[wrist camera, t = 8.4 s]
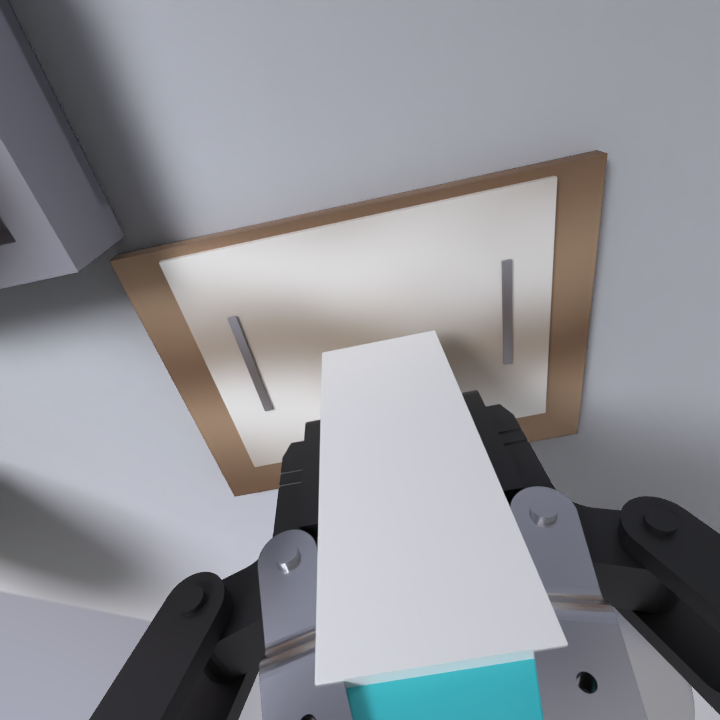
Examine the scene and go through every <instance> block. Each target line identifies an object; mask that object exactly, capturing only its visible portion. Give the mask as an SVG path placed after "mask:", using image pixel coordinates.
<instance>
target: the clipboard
mask: <svg viewBox="0 0 720 720" xmlns="http://www.w3.org/2000/svg"><path fill="white" fill-rule="evenodd" d="M606 162H607V153H604V152H601V151H597V150H596V151H592V152H587V153H583V154H578V155H573V156H569V157H564V158H560V159H555V160H550V161H546V162H541V163H537V164H532V165H527V166H523V167H518V168H514V169H509V170H504V171H500V172H495V173H491V174H486V175H482V176H477V177H472V178H468V179H463V180H459V181H454V182H449V183H445V184H440V185H436V186H431V187H426V188H422V189H417V190H413V191H408V192H403V193H399V194H394V195H390V196H385V197H380V198H376V199H371V200H367V201H362V202H357V203H353V204H348V205H344V206H339V207H334V208H330V209H325V210H321V211H316V212H312V213H307V214H302V215H298V216H293V217H289V218H284V219H279V220H275V221H270V222H266V223H261V224H256V225H252V226H247V227H243V228H238V229H233V230H229V231H224V232H220V233H215V234H210V235H206V236H201V237H197V238H192V239H187V240H183V241H178V242H174V243H169V244H164V245H160V246H155V247H151V248H146V249H142V250H137V251H132V252H128V253H123V254H119V255H116V256H115V257H114V258H113V259H112V260H111V261H109V262H110V263H111V265H112V267H113V269H114V271H115V273H116V275H117V277H118V278H119V280H120V282H121V284H122V286H123V288H124V290H125V292H126V293H127V295H128V297H129V299H130V301H131V303H132V305H133V307H134V308H135V310H136V312H137V314H138V316H139V318H140V320H141V322H142V323H143V325H144V327H145V329H146V331H147V333H148V335H149V337H150V339H151V340H152V342H153V344H154V346H155V348H156V350H157V352H158V354H159V355H160V357H161V359H162V361H163V363H164V365H165V367H166V369H167V370H168V372H169V374H170V376H171V378H172V380H173V382H174V384H175V385H176V387H177V389H178V391H179V393H180V395H181V397H182V399H183V400H184V402H185V404H186V406H187V408H188V410H189V412H190V414H191V415H192V417H193V419H194V421H195V423H196V425H197V427H198V429H199V430H200V432H201V434H202V436H203V438H204V440H205V442H206V444H207V445H208V447H209V449H210V451H211V453H212V455H213V457H214V459H215V460H216V462H217V464H218V466H219V468H220V470H221V472H222V474H223V475H224V477H225V479H226V481H227V483H228V485H229V487H230V489H231V490H232V492H233V494H234V496H241V495H246V494H251V493H257V492H262V491H268V490H273V489H279V488H280V485H279V483H280V475H281V466H282V458H283V456H284V454H285V452H286V451H287V449H288V447H289V446H290V444H291V443H294V442H299V441H304V434H305V424H306V422H310V421H315V420H320V419H321V375H322V353H323V352H328V351H333V350H338V349H343V348H348V347H353V346H358V345H363V344H368V343H373V342H378V341H383V340H388V339H393V338H398V337H403V336H408V335H413V334H418V333H423V332H428V331H433V330H435V332H436V334H437V337H438V339H439V341H440V344H441V346H442V348H443V351H444V353H445V355H446V358H447V360H448V363H449V365H450V367H451V370H452V372H453V374H454V377H455V379H456V381H457V384H458V386H459V388H460V391H461V393H463V392H468V391H473V390H477V391H478V392H479V394H480V396H481V398H482V400H483V402H484V404H485V406H491V405H496V404H500V405H502V406H503V407H504V408H506V409H507V410H508V411H510V412H511V413H512V414H514V416H515V418H516V420H517V422H518V423H519V425H520V427H521V430H522V431H523V432H524V434H525V436H526V438H527V441H528V442H534V441H539V440H545V439H550V438H555V437H561V436H566V435H572V434H577V433H578V425H579V415H580V406H581V397H582V387H583V378H584V368H585V359H586V350H587V340H588V331H589V322H590V312H591V303H592V294H593V284H594V275H595V265H596V256H597V247H598V237H599V228H600V219H601V209H602V200H603V191H604V181H605V172H606Z"/></svg>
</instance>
